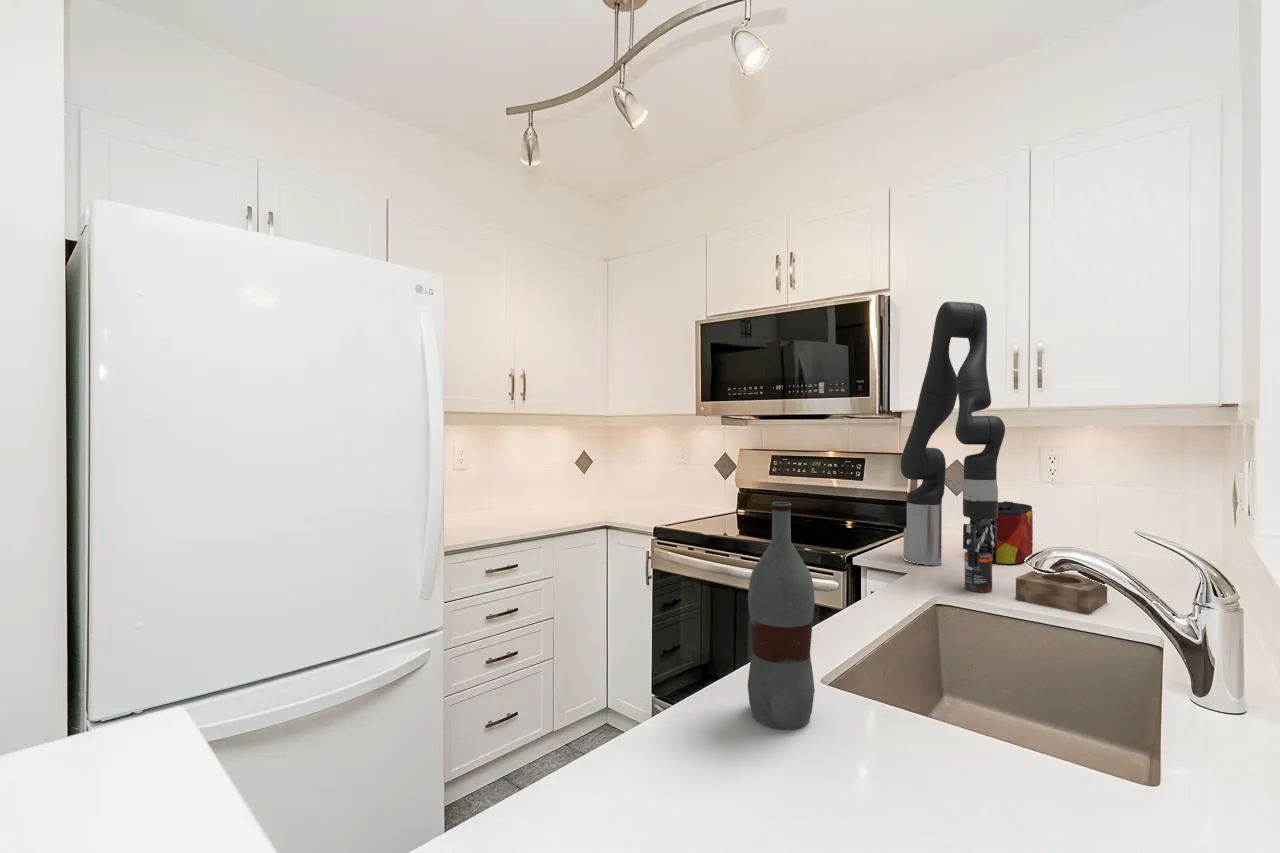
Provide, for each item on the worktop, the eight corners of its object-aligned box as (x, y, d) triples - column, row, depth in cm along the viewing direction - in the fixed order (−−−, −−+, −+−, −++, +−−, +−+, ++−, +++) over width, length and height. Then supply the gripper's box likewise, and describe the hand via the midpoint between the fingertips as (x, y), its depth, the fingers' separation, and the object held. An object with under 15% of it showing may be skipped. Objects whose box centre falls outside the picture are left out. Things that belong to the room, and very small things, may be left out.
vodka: (771, 694, 94) (772, 497, 93) (827, 715, 87) (828, 503, 87) (734, 715, 87) (734, 503, 87) (791, 739, 81) (791, 510, 80)
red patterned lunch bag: (1015, 570, 170) (1015, 511, 170) (960, 562, 180) (961, 506, 180) (1038, 553, 192) (1038, 500, 192) (988, 546, 202) (989, 496, 202)
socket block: (1015, 599, 143) (1015, 577, 143) (1037, 588, 152) (1037, 568, 152) (1088, 614, 132) (1088, 591, 132) (1107, 601, 141) (1107, 580, 141)
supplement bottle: (985, 586, 154) (985, 541, 153) (996, 593, 148) (997, 546, 147) (960, 586, 154) (960, 540, 154) (970, 592, 148) (970, 545, 148)
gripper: (975, 494, 158) (976, 558, 158) (951, 498, 149) (951, 566, 149) (1008, 496, 152) (1008, 562, 152) (984, 501, 143) (985, 571, 143)
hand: (980, 564), depth 150 cm, fingers open, 8 cm apart
